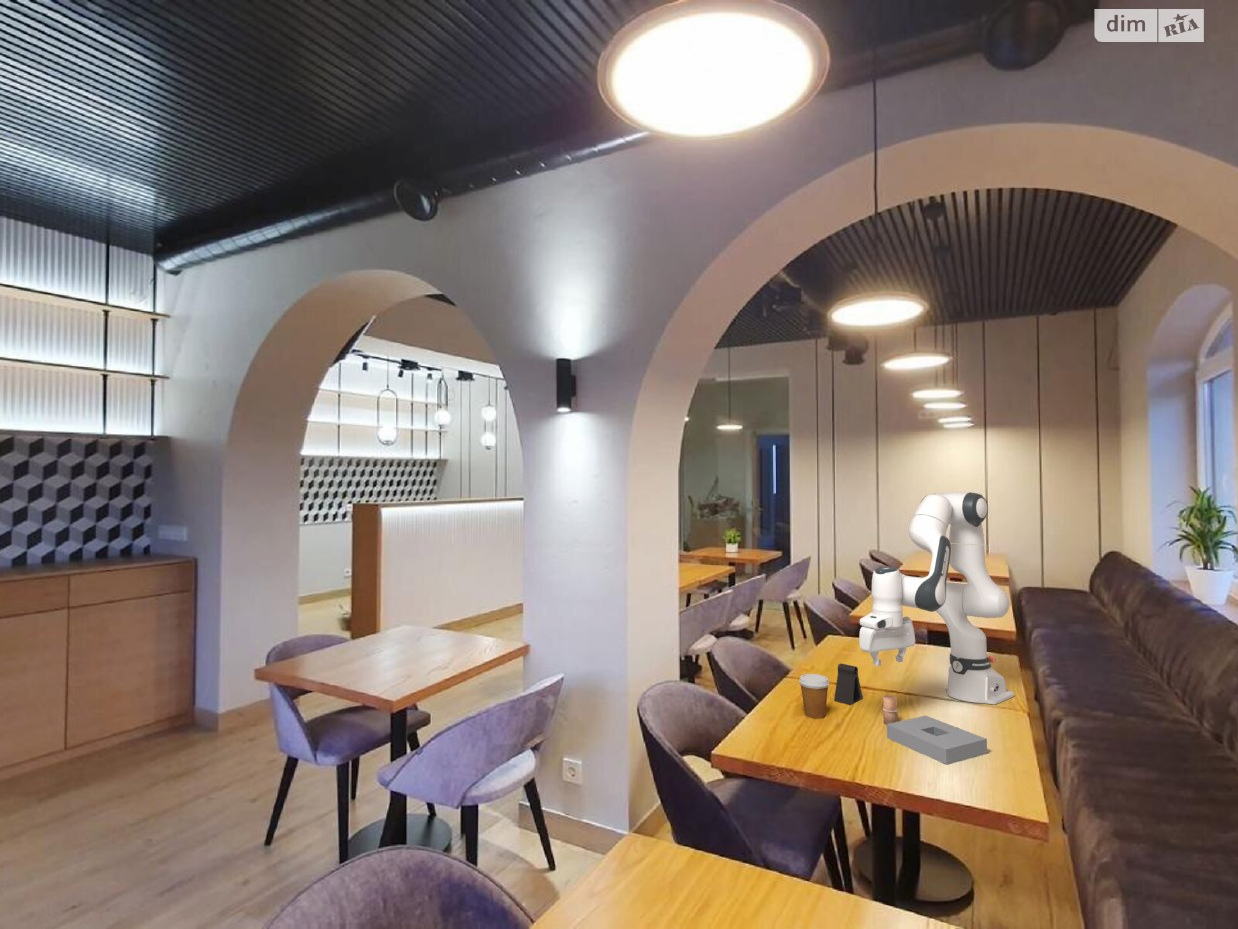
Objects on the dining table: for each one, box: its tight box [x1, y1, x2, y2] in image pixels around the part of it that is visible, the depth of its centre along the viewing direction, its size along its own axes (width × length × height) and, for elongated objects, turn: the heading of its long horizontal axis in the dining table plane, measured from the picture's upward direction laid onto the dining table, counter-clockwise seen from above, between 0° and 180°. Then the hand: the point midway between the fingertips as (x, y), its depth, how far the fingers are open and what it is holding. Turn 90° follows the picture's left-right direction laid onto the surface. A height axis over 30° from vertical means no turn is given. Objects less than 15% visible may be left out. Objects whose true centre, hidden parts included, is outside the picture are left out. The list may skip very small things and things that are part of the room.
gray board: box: [886, 714, 988, 766], centre depth 182 cm, size 16×20×4 cm
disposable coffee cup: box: [798, 673, 830, 719], centre depth 207 cm, size 10×10×12 cm
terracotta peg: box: [882, 694, 898, 726], centre depth 199 cm, size 4×4×8 cm
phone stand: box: [833, 663, 864, 706], centre depth 221 cm, size 9×6×12 cm, turn 133°
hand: (888, 663), depth 200 cm, fingers open, 8 cm apart
